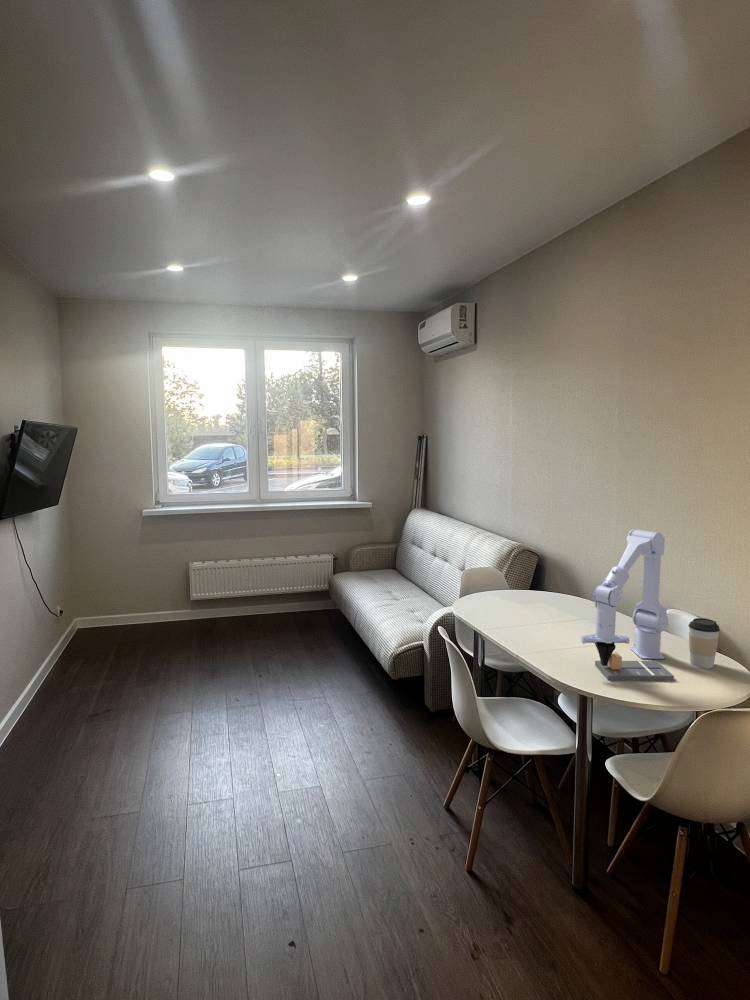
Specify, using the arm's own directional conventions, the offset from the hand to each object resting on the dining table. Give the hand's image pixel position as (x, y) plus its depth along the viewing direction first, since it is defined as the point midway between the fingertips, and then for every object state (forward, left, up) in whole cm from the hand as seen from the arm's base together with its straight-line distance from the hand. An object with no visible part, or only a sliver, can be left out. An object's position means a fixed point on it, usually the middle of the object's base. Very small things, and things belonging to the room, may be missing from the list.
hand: (604, 664), depth 191 cm
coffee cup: (-7, +34, -3) cm, 35 cm away
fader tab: (0, +3, -1) cm, 3 cm away
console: (0, +9, -3) cm, 10 cm away
